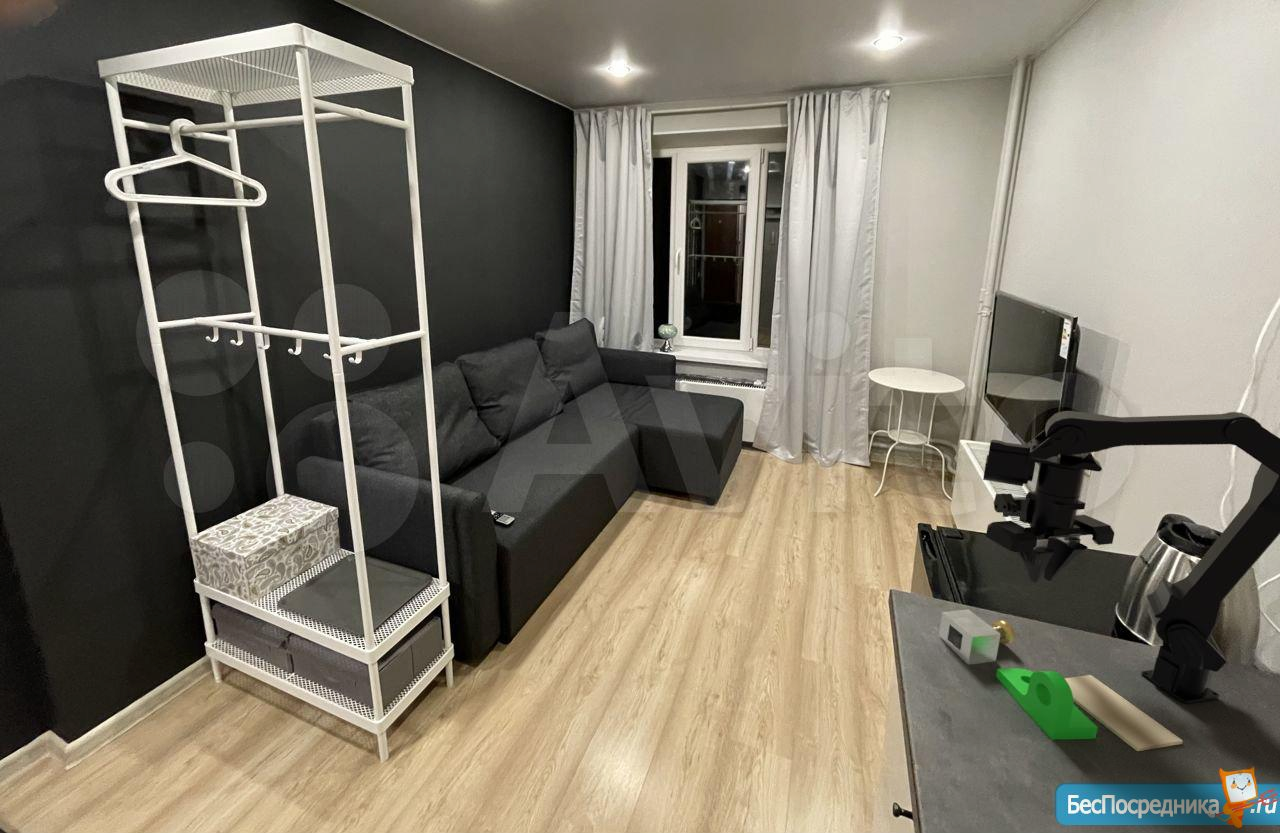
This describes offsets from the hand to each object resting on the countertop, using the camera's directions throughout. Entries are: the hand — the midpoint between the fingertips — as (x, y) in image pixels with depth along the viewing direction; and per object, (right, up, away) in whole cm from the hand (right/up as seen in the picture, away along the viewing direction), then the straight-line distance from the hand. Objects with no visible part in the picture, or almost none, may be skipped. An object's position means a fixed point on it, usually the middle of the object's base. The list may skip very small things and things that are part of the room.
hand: (1040, 580), depth 94 cm
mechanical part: (-8, -15, -11) cm, 21 cm away
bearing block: (-12, -12, +1) cm, 17 cm away
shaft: (-8, -11, +1) cm, 14 cm away
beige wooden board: (+2, -15, -12) cm, 20 cm away
